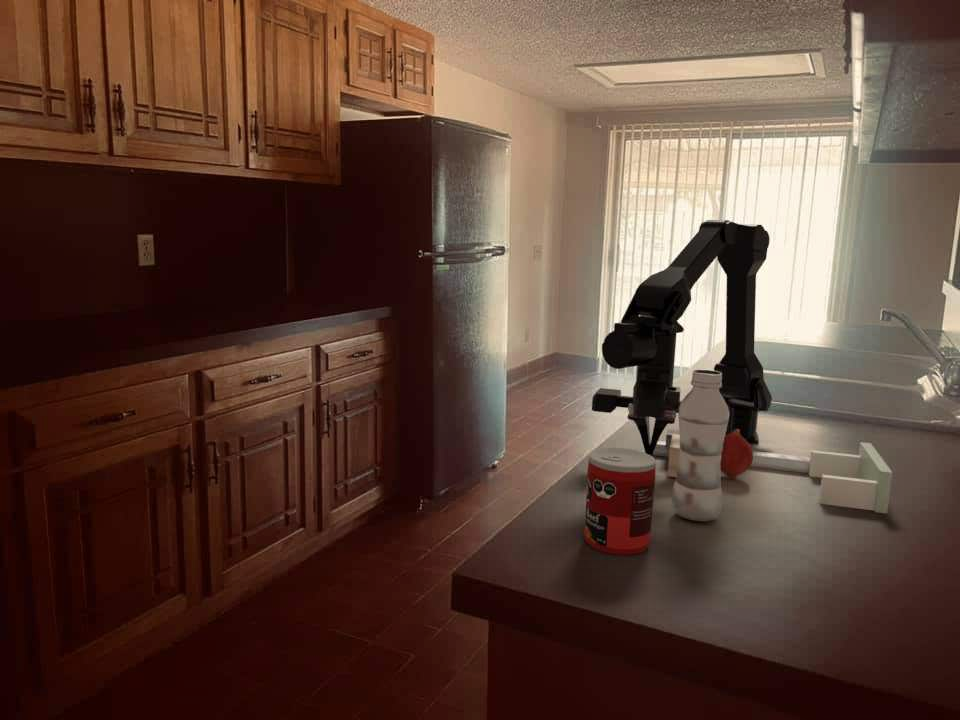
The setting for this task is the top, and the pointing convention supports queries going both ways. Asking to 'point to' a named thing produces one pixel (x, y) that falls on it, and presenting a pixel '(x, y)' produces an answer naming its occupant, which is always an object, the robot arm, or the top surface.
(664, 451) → the rail
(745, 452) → the red round solid
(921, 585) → the top surface
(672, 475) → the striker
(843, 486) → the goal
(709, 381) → the plastic bottle
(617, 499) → the canned food
